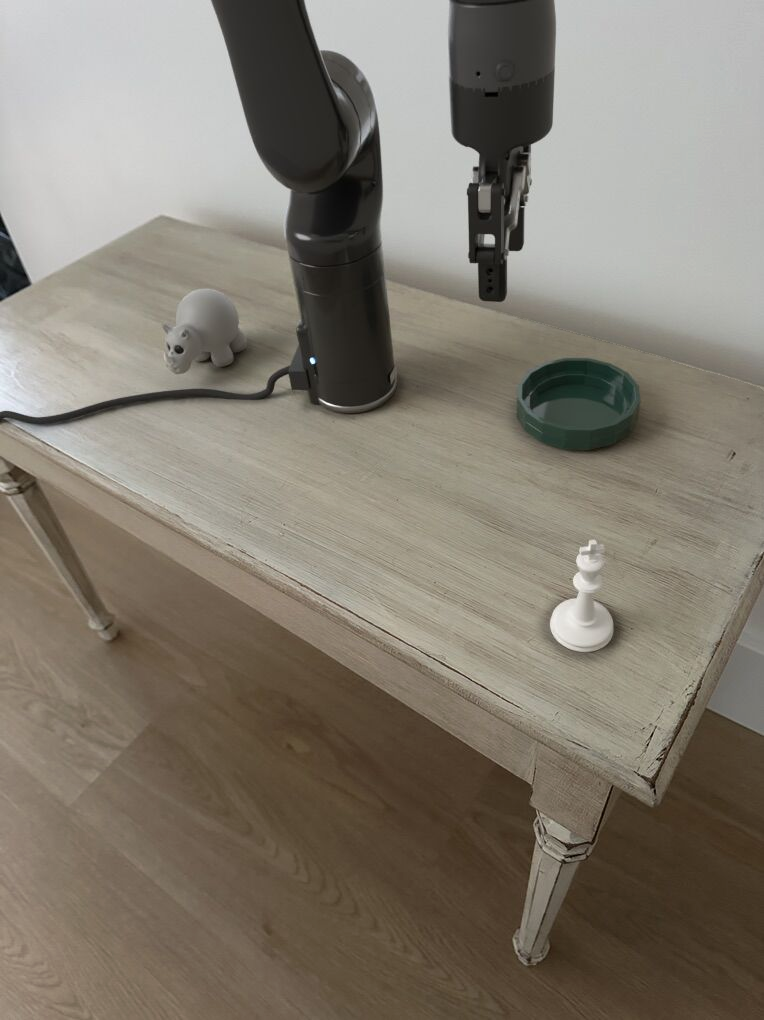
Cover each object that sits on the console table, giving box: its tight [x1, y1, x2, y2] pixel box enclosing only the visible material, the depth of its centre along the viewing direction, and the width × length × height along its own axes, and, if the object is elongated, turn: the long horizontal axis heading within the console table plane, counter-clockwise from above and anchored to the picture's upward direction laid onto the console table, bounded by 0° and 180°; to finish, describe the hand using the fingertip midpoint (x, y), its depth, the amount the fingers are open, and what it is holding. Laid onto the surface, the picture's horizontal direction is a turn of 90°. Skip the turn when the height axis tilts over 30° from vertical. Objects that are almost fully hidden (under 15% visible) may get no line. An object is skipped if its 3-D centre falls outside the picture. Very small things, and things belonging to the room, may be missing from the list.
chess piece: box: [549, 539, 615, 653], centre depth 60 cm, size 5×5×10 cm
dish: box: [516, 357, 642, 451], centre depth 81 cm, size 12×12×3 cm
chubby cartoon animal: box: [161, 288, 248, 375], centre depth 92 cm, size 7×12×8 cm, turn 153°
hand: (502, 273), depth 68 cm, fingers open, 8 cm apart
